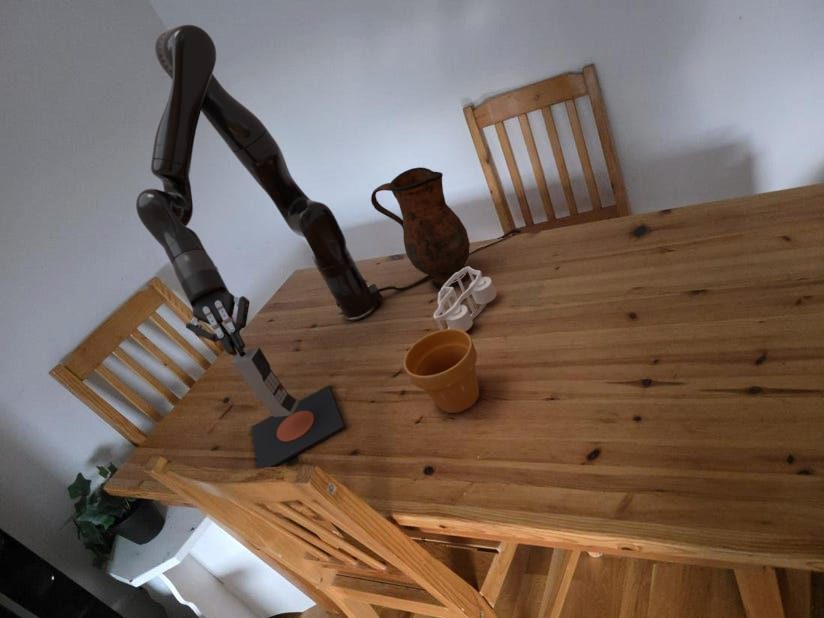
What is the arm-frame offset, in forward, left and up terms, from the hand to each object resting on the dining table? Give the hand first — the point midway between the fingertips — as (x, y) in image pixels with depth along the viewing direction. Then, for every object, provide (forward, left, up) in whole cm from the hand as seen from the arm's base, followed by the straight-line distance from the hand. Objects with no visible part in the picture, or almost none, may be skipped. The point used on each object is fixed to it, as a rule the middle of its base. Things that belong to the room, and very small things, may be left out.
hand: (238, 352), depth 117 cm
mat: (0, -2, -24) cm, 24 cm away
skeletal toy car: (-47, -10, -24) cm, 54 cm away
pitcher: (-49, -31, -24) cm, 63 cm away
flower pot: (-34, +16, -24) cm, 45 cm away
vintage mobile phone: (0, -2, -19) cm, 19 cm away
